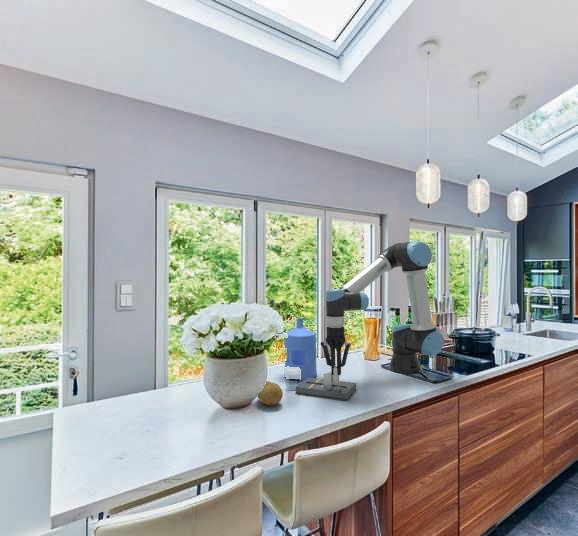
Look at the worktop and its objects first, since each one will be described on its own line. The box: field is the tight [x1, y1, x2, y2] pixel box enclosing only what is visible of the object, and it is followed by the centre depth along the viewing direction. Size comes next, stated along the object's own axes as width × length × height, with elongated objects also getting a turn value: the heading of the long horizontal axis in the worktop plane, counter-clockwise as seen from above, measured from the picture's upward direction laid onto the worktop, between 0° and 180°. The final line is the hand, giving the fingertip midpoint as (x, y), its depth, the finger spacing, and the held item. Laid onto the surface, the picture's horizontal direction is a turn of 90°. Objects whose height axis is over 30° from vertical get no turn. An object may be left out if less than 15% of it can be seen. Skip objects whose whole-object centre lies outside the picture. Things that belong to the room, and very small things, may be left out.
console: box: [295, 377, 357, 402], centre depth 153 cm, size 22×14×4 cm, turn 65°
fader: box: [323, 370, 334, 386], centre depth 152 cm, size 3×4×7 cm
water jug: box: [283, 317, 318, 381], centre depth 176 cm, size 16×16×28 cm
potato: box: [256, 380, 284, 406], centre depth 140 cm, size 10×14×8 cm
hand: (336, 382), depth 151 cm, fingers closed
